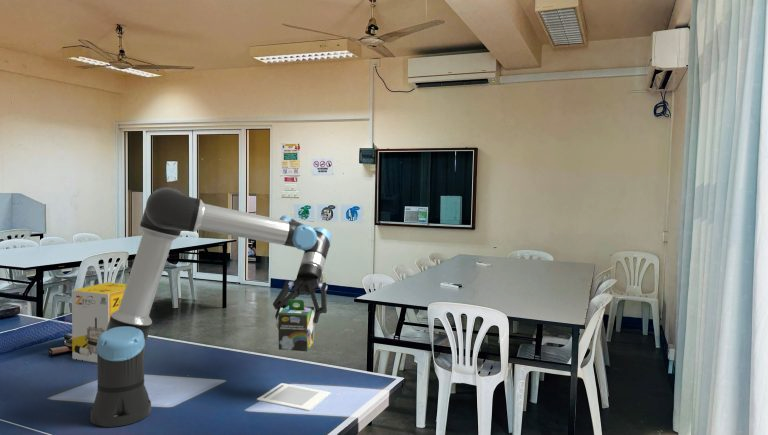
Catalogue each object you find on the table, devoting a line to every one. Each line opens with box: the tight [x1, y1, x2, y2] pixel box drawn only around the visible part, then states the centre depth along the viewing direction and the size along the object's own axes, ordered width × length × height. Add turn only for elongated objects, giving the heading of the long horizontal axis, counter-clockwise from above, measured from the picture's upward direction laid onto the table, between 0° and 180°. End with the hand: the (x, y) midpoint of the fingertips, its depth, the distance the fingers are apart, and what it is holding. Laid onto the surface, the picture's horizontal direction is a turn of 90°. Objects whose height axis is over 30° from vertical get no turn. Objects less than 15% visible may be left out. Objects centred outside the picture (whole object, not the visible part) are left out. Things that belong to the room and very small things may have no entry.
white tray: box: [256, 382, 332, 412], centre depth 165 cm, size 14×18×1 cm
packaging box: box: [71, 282, 127, 364], centre depth 196 cm, size 16×16×25 cm
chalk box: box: [277, 298, 315, 352], centre depth 163 cm, size 9×9×15 cm
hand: (293, 330), depth 160 cm, fingers closed on chalk box, 9 cm apart
